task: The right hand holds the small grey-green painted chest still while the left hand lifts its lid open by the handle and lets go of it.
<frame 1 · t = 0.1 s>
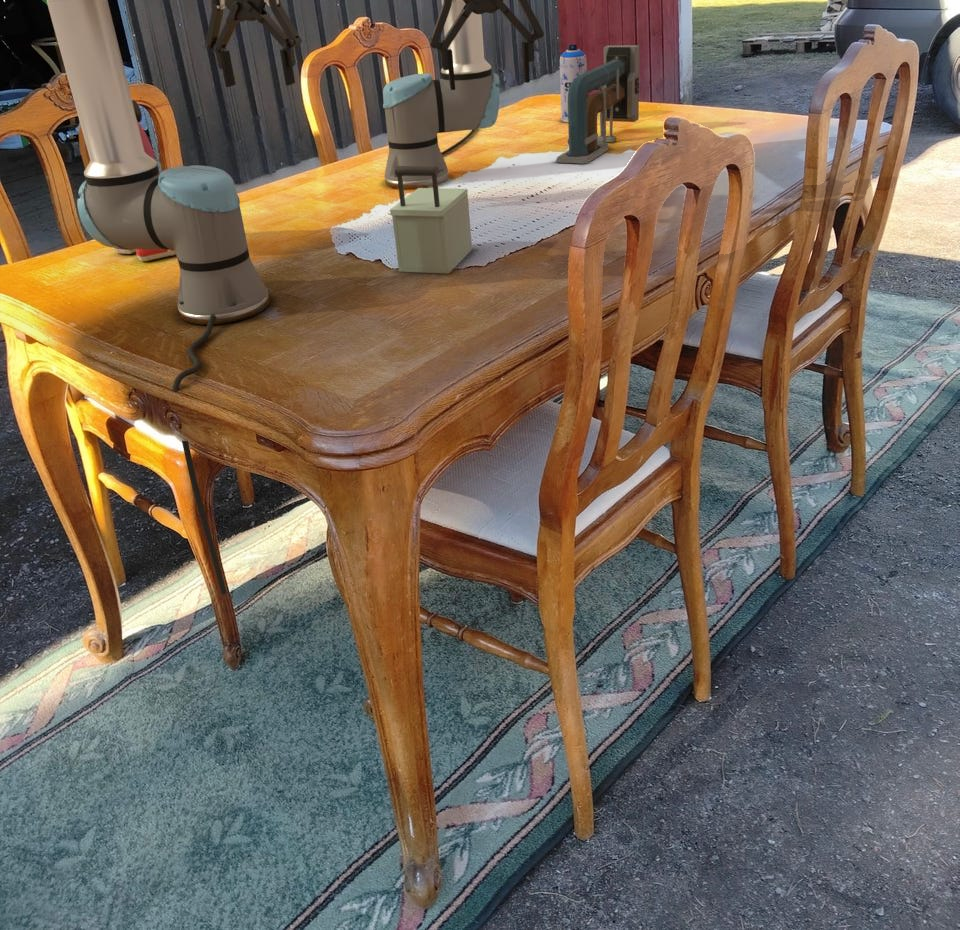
left hand: (260, 85, 196), 28 cm above the table, tool pointing down, fingers open, 13 cm apart
right hand: (489, 85, 176), 28 cm above the table, tool pointing down, fingers open, 13 cm apart
chest: (436, 260, 180), on the table
lid: (427, 182, 172), point 15 cm above the table, hinge at 0.0°
toy: (149, 252, 198), on the table
clamp: (597, 146, 248), on the table
aerosol can: (574, 120, 278), on the table
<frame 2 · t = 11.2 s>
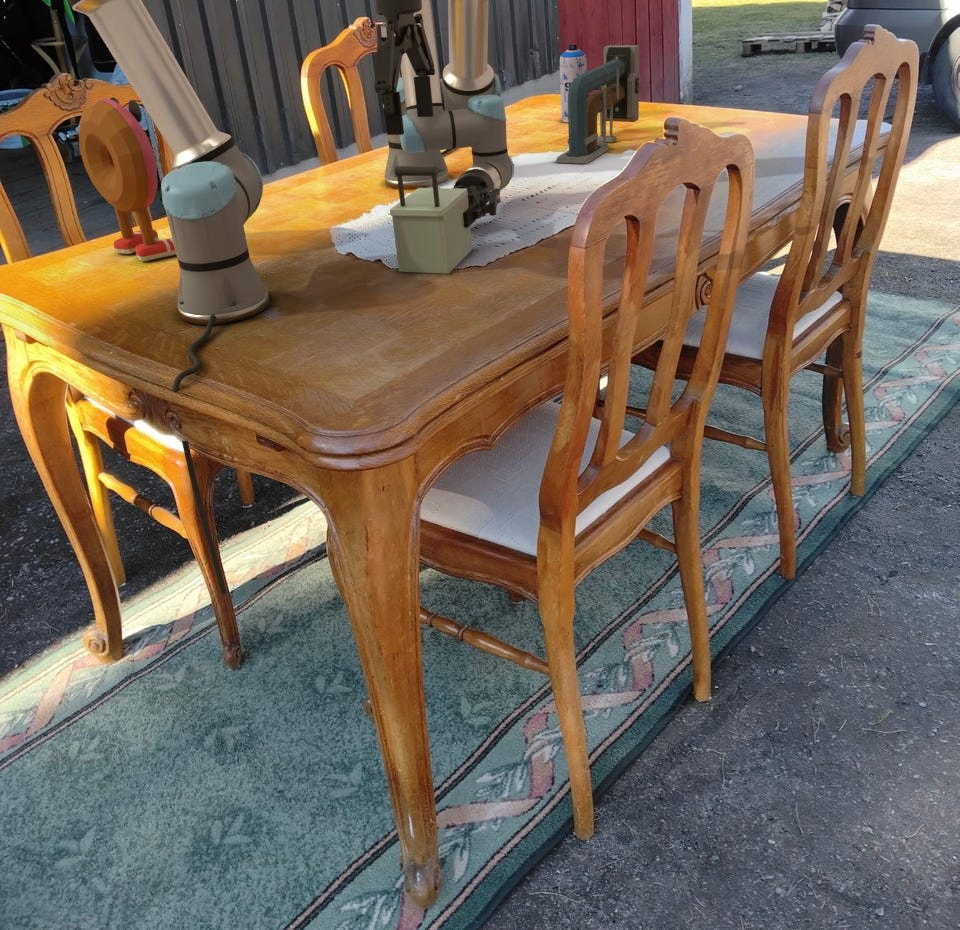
left hand: (411, 125, 163), 25 cm above the table, tool pointing down, fingers open, 13 cm apart
right hand: (438, 219, 179), 7 cm above the table, tool horizontal, fingers closed on chest, 10 cm apart
chest: (436, 260, 180), on the table, touching right hand
everything else where it was.
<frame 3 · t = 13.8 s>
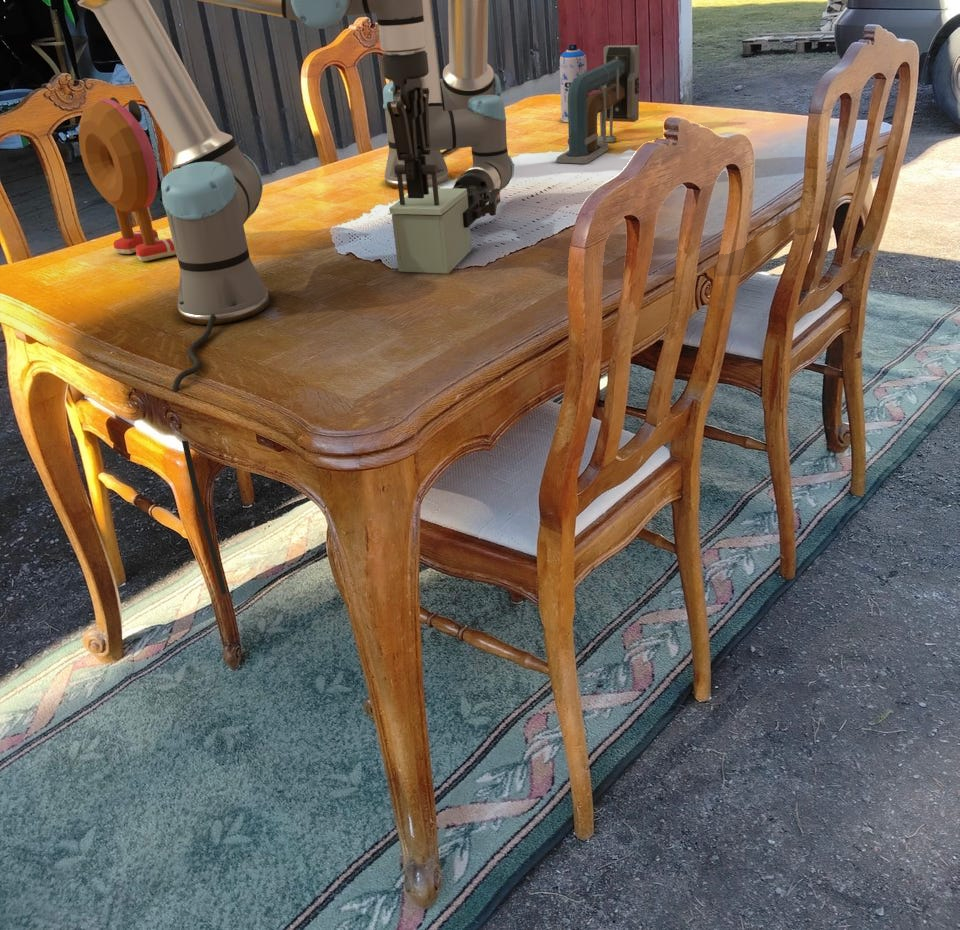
left hand: (418, 195, 169), 13 cm above the table, tool pointing down, fingers closed on lid, 2 cm apart
right hand: (438, 219, 179), 7 cm above the table, tool horizontal, fingers closed on chest, 10 cm apart
chest: (435, 260, 180), on the table, touching right hand
lid: (427, 181, 172), point 15 cm above the table, hinge at 1.2°, touching left hand
everything else where it was.
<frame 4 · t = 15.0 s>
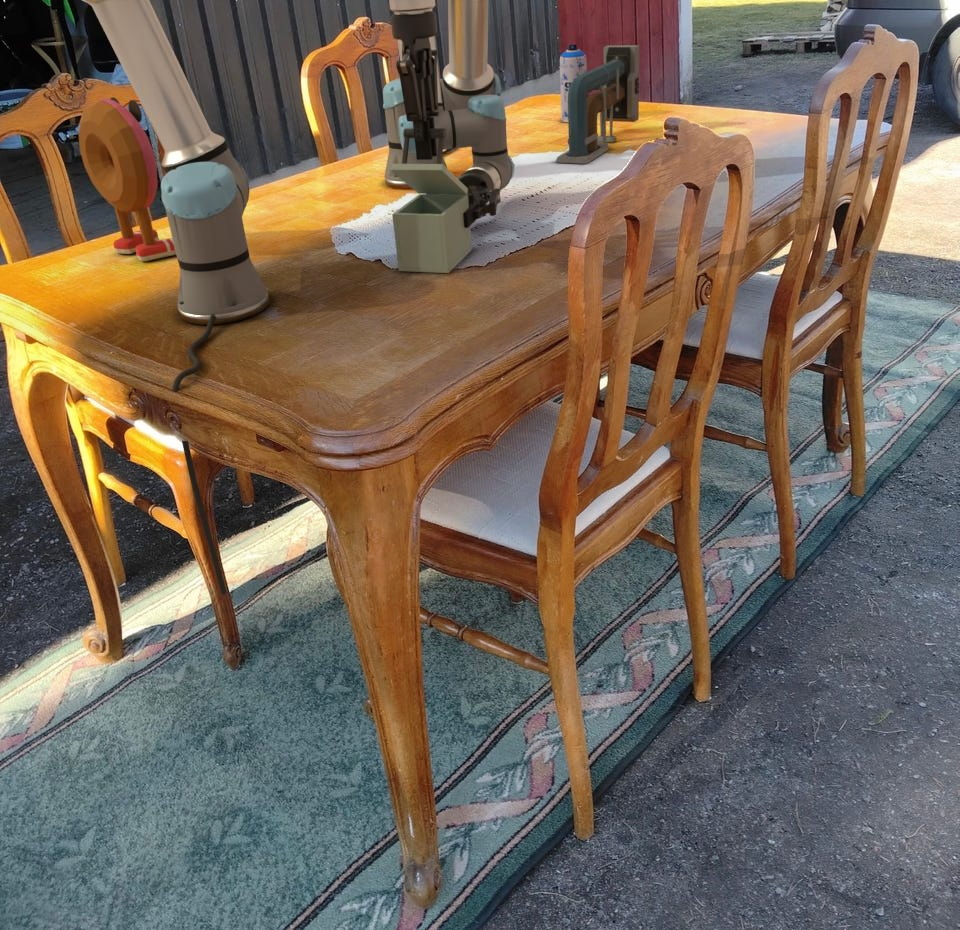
left hand: (427, 157, 171), 19 cm above the table, tool pointing down, fingers closed on lid, 2 cm apart
right hand: (439, 219, 179), 7 cm above the table, tool horizontal, fingers closed on chest, 10 cm apart
chest: (436, 260, 180), on the table, touching right hand
lid: (432, 160, 173), point 18 cm above the table, hinge at 32.1°, touching left hand
everything else where it was.
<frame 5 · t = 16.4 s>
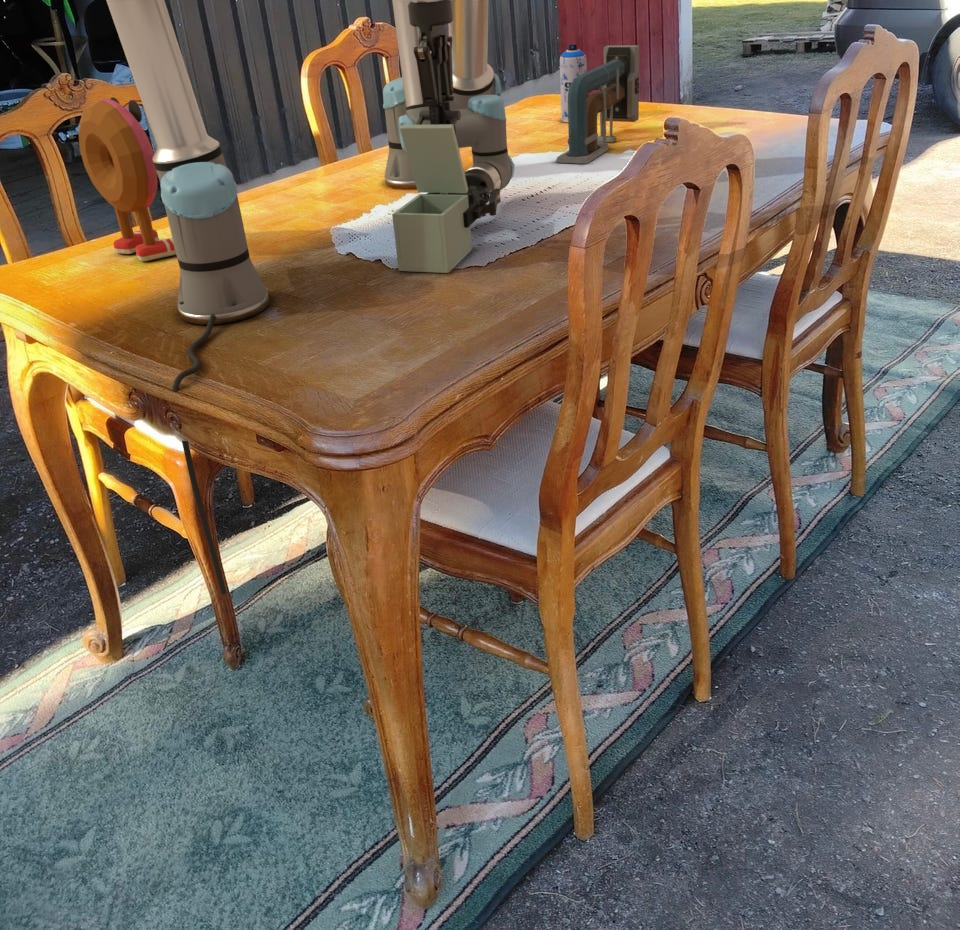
left hand: (442, 140, 177), 20 cm above the table, tool pointing down, fingers closed
right hand: (439, 219, 179), 7 cm above the table, tool horizontal, fingers closed on chest, 10 cm apart
chest: (436, 260, 180), on the table, touching right hand
lid: (440, 148, 176), point 19 cm above the table, hinge at 67.6°
everything else where it was.
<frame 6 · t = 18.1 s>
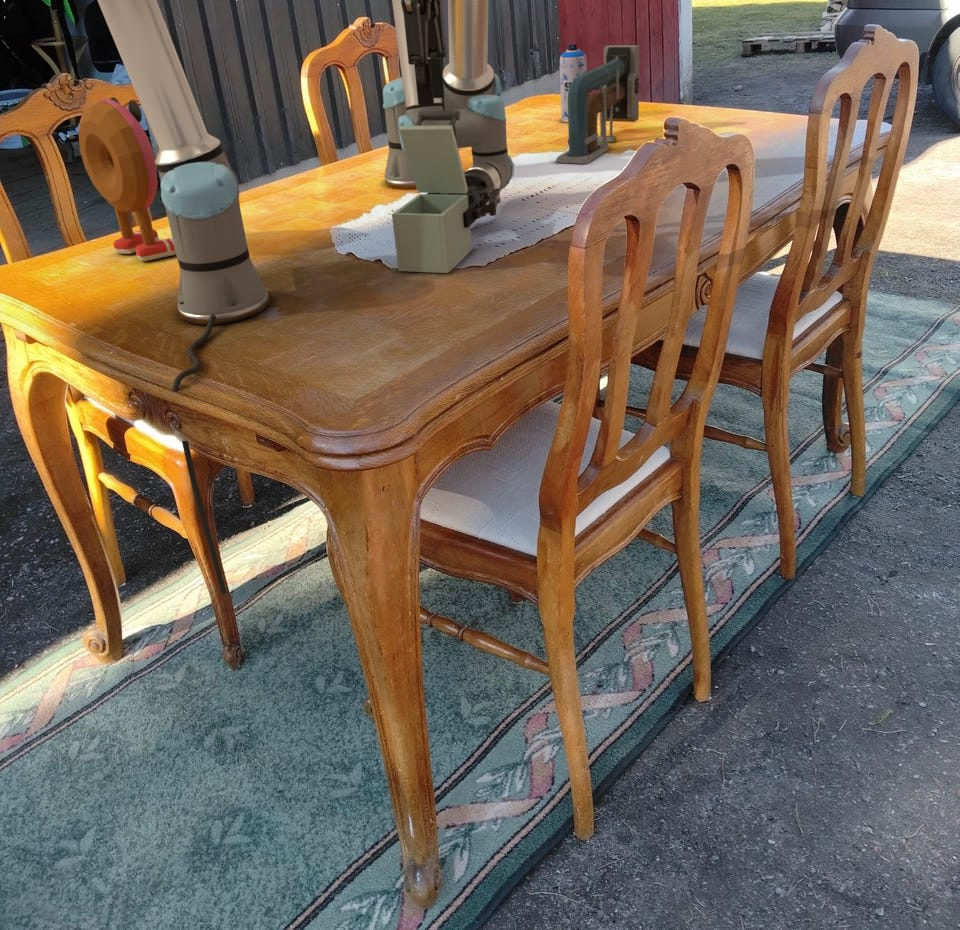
left hand: (431, 100, 171), 27 cm above the table, tool pointing down, fingers open, 5 cm apart
right hand: (438, 219, 179), 7 cm above the table, tool horizontal, fingers closed on chest, 10 cm apart
chest: (435, 260, 180), on the table, touching right hand
lid: (439, 148, 176), point 19 cm above the table, hinge at 66.4°
everything else where it was.
when the right hand's fingers open (7 cm above the table, at t = 20.7 s): chest stays where it is, on the table.
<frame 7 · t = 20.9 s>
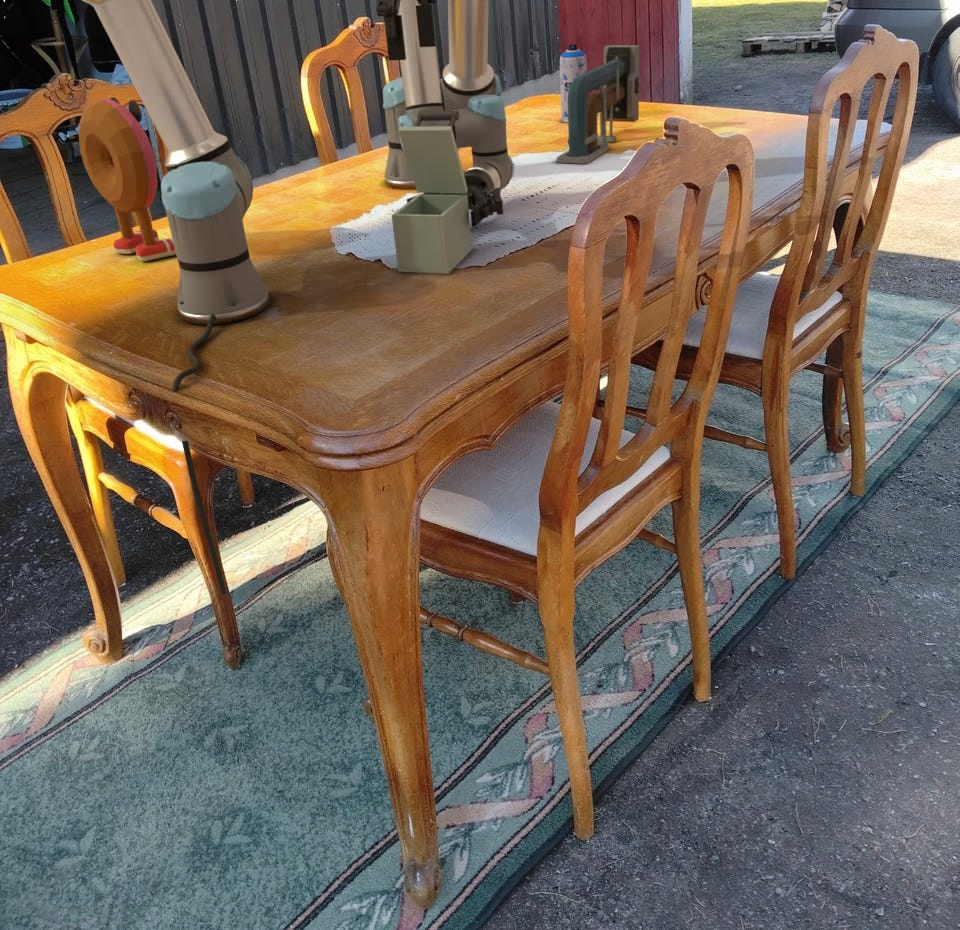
left hand: (413, 53, 161), 36 cm above the table, tool pointing down, fingers open, 13 cm apart
right hand: (440, 218, 180), 7 cm above the table, tool horizontal, fingers open, 12 cm apart
chest: (435, 260, 180), on the table
lid: (439, 148, 176), point 19 cm above the table, hinge at 65.9°
everything else where it was.
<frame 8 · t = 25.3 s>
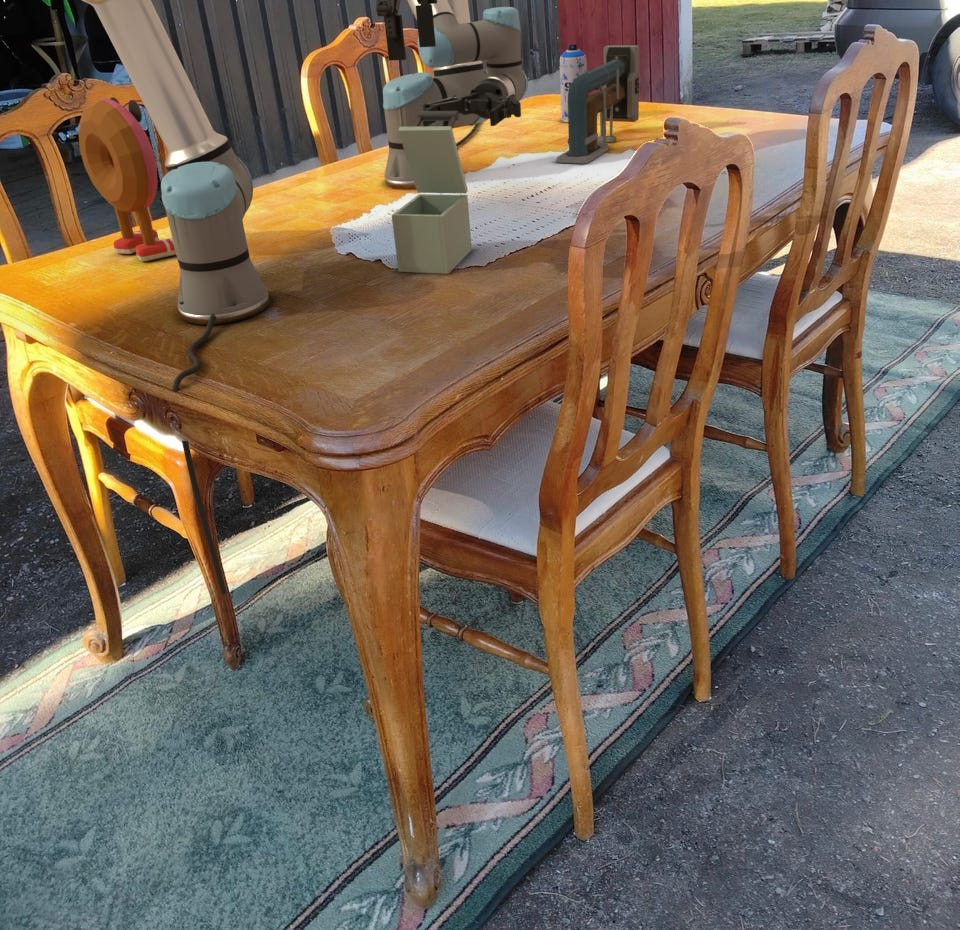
left hand: (413, 53, 161), 36 cm above the table, tool pointing down, fingers open, 13 cm apart
right hand: (457, 118, 183), 22 cm above the table, tool horizontal, fingers open, 13 cm apart
nothing on the table moved.
at the end: lid at +66° (first picture: +0°); the left hand is holding nothing; the right hand is holding nothing; chest tilted 0°; chest never tilted more than 1° during the clip; chest moved 0.1 cm from its start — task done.
